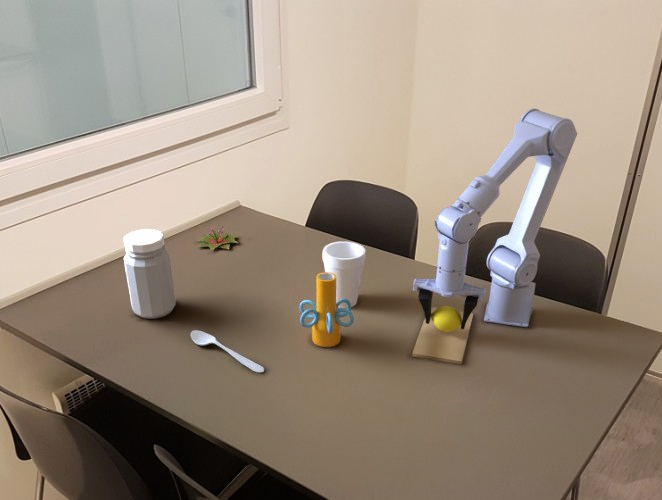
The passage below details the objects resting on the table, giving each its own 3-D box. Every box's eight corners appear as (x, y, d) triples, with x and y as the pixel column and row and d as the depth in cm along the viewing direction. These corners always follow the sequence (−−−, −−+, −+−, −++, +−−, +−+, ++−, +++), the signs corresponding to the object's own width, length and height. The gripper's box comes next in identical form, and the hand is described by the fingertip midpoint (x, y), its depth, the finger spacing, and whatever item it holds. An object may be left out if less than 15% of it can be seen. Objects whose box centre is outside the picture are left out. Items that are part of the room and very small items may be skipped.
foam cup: (359, 313, 156) (361, 261, 149) (319, 309, 158) (319, 257, 151) (366, 293, 164) (368, 243, 157) (327, 290, 166) (327, 239, 159)
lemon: (465, 328, 148) (468, 306, 145) (455, 340, 144) (458, 317, 141) (435, 319, 151) (437, 298, 148) (424, 330, 147) (426, 308, 145)
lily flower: (189, 251, 184) (187, 235, 182) (203, 233, 194) (201, 218, 192) (233, 254, 182) (231, 238, 180) (244, 236, 192) (243, 220, 190)
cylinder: (362, 334, 149) (364, 271, 141) (343, 359, 141) (344, 294, 133) (311, 322, 153) (310, 260, 145) (289, 345, 145) (287, 281, 137)
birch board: (473, 316, 155) (473, 312, 155) (461, 364, 139) (462, 361, 139) (428, 309, 158) (428, 306, 158) (412, 356, 142) (412, 353, 141)
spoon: (200, 332, 150) (199, 326, 149) (270, 367, 138) (270, 360, 138) (185, 340, 147) (184, 334, 146) (255, 377, 136) (255, 370, 135)
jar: (123, 315, 156) (110, 241, 146) (148, 296, 163) (137, 224, 154) (160, 324, 153) (149, 249, 143) (184, 303, 160) (175, 231, 151)
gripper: (412, 269, 138) (407, 328, 146) (486, 279, 135) (477, 338, 142) (418, 255, 144) (413, 312, 151) (489, 264, 141) (481, 321, 148)
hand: (445, 324), depth 147 cm, fingers closed on lemon, 7 cm apart
